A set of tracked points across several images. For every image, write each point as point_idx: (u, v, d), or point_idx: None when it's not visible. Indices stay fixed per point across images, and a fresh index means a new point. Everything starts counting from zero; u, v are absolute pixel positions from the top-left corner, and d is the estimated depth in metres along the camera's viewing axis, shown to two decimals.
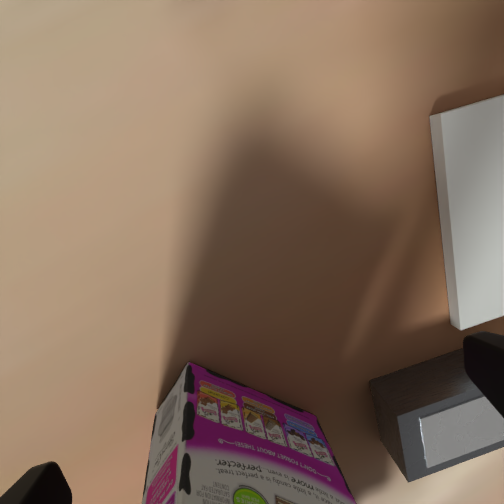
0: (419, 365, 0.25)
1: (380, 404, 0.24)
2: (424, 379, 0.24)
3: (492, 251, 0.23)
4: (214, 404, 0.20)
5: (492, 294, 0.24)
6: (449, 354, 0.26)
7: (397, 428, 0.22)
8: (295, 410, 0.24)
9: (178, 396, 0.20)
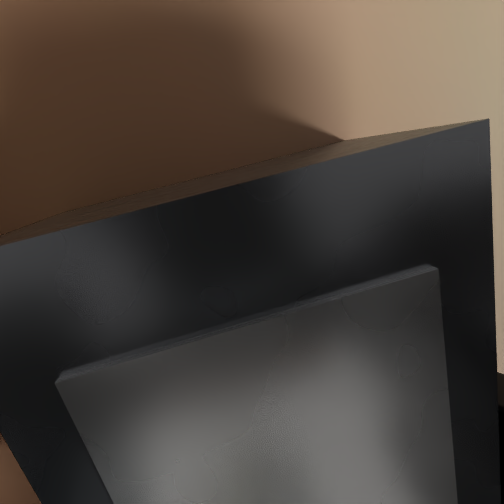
0: None
1: None
2: None
3: None
4: None
5: None
6: None
7: None
8: None
9: None
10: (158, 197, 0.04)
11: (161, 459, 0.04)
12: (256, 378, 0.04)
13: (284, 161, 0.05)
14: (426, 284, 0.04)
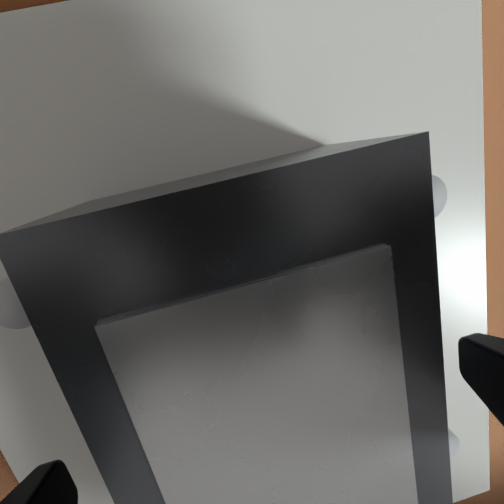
0: None
1: None
2: None
3: None
4: None
5: None
6: None
7: None
8: None
9: None
10: (172, 188, 0.05)
11: (172, 392, 0.05)
12: (248, 330, 0.05)
13: (275, 161, 0.06)
14: (382, 258, 0.05)
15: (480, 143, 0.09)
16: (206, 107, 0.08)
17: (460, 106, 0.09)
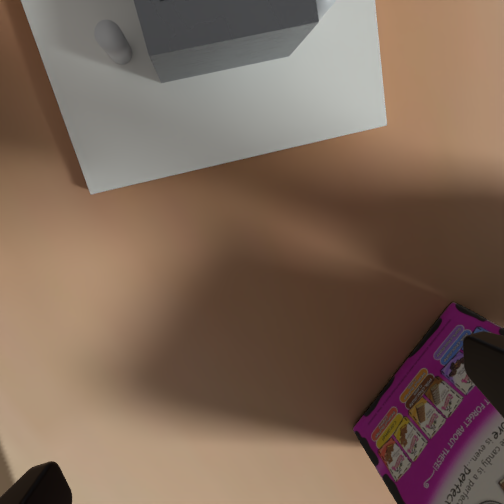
0: None
1: (184, 68, 0.14)
2: None
3: (277, 87, 0.16)
4: (394, 448, 0.20)
5: (342, 75, 0.16)
6: None
7: (187, 50, 0.12)
8: (436, 331, 0.21)
9: None
10: None
11: None
12: None
13: None
14: None
15: None
16: None
17: None
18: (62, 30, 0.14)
